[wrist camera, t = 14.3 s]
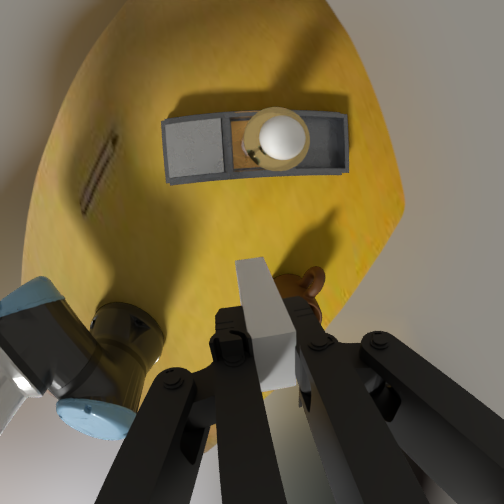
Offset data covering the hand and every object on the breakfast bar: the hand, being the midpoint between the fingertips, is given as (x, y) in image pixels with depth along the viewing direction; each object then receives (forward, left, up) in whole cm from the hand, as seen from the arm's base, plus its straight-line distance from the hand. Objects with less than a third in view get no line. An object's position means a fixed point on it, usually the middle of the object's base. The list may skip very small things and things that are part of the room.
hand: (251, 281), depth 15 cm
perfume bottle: (+4, +8, -27) cm, 28 cm away
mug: (+9, -15, -28) cm, 33 cm away
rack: (+4, +8, -28) cm, 29 cm away
